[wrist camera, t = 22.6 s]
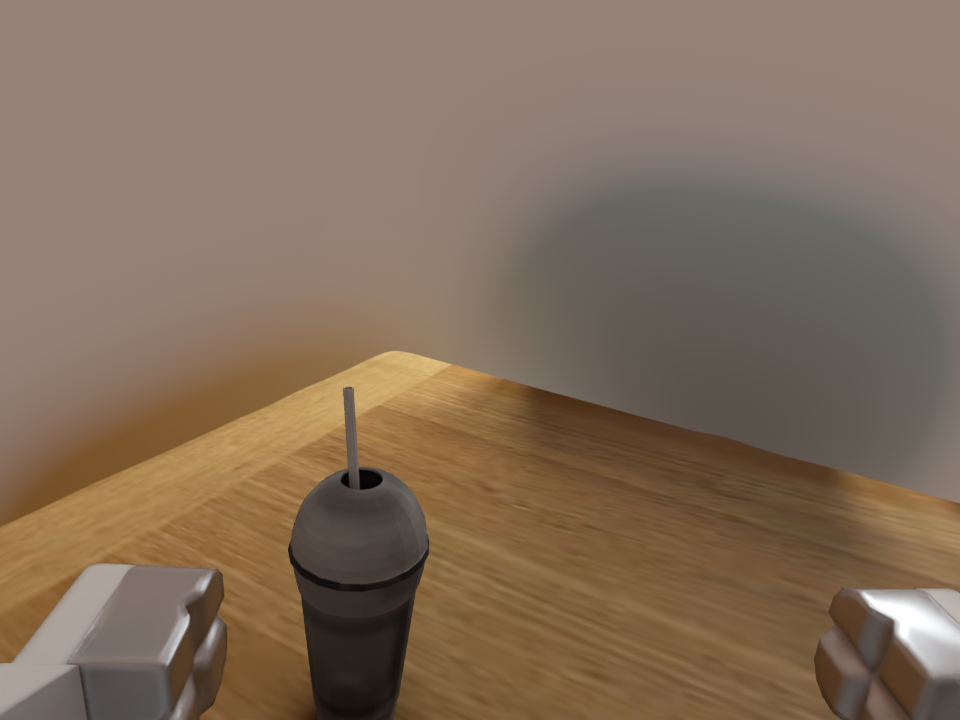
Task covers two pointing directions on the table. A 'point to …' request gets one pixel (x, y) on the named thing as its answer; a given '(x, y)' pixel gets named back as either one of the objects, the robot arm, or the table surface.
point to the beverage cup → (358, 583)
